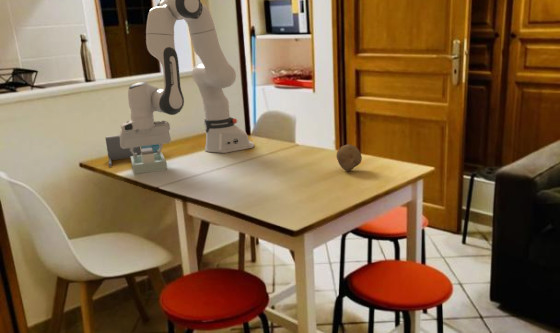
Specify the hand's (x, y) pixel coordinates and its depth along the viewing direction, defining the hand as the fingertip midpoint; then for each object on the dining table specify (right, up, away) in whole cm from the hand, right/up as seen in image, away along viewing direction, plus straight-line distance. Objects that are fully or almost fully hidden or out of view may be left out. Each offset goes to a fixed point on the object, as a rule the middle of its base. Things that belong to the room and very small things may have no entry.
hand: (147, 156), depth 214 cm
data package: (-6, +3, +28) cm, 29 cm away
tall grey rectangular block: (0, -3, +1) cm, 4 cm away
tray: (0, -4, +1) cm, 5 cm away
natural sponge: (+80, -6, -22) cm, 84 cm away
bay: (-13, -2, +13) cm, 18 cm away
